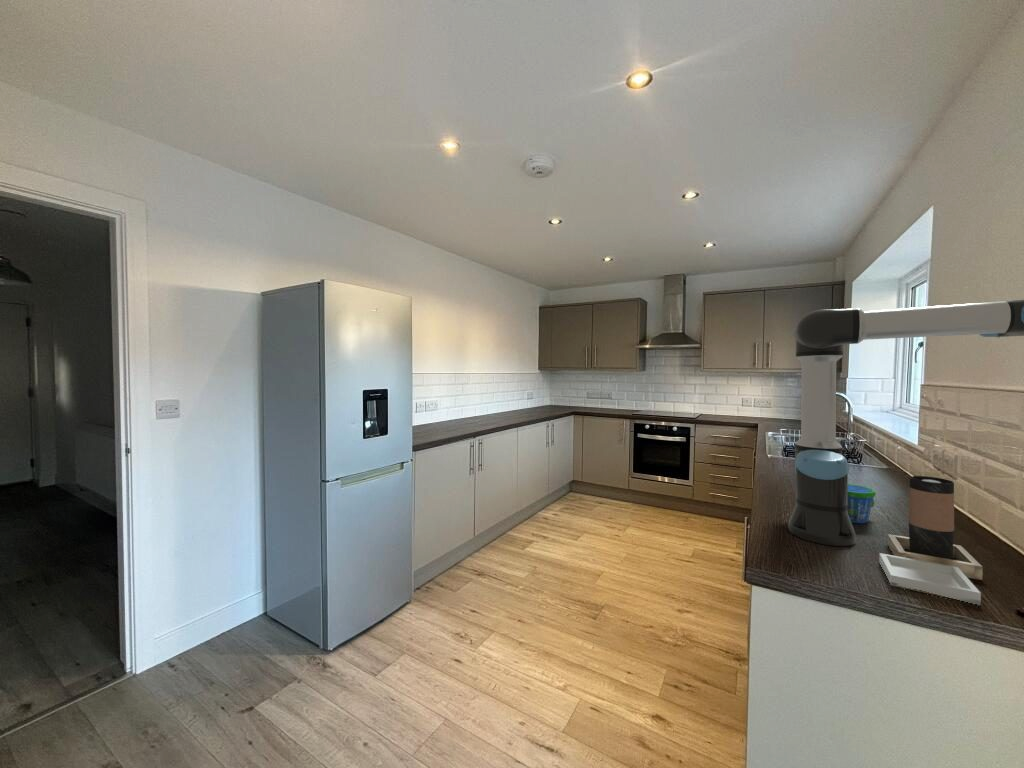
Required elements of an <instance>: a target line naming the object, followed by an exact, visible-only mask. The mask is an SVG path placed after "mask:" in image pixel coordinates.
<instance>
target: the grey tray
mask: <svg viewBox="0 0 1024 768" xmlns="http://www.w3.org/2000/svg"><path fill="white" fill-rule="evenodd" d="M878 555H879V561H878V562H879V563H880V564H879V566H880V565H881V566H880V568H881V567H882V568H881V570H882V569H883V570H884V572H885V574H886V576H887V578H888V580H889V582H890V583H891V584H892V585H896V586H902V587H906V588H911V589H917V590H922V591H926V592H929V593H933V594H937V595H941V596H945V597H949V598H953V599H957V600H960V601H959V602H961V601H964V602H963V603H966V602H968V603H967V604H970V603H972V605H975V604H977V605H976V606H980V605H982V592H981V591H980V590H979V589H978V588H977V587H976V586H975V585H974V583H973V582H972V581H971V580H970V578H968V577H966V576H965V575H964V574H963V573H962V571H961V570H960V569H959V568H958V567H954V566H948V565H943V564H937V563H932V562H926V561H921V560H915V559H910V558H904V557H899V556H894V555H893V554H887V553H881V552H879V553H878ZM883 570H882V571H883ZM884 572H883V573H884ZM885 574H884V575H885ZM886 576H885V577H886ZM887 578H886V579H887ZM888 580H887V581H888ZM889 582H888V583H889Z"/></svg>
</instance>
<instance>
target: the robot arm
mask: <svg viewBox="0 0 1024 768" xmlns="http://www.w3.org/2000/svg"><path fill="white" fill-rule="evenodd" d="M794 331H795V332H794V338H795V339H794V340H795V359H797V361H800V363H801V385H800V387H801V396H800V397H801V398H800V400H801V402H800V403H801V405H800V406H801V408H800V409H801V410H800V411H801V412H800V413H801V414H800V415H801V416H800V417H801V418H800V419H801V420H800V426H801V427H800V429H801V430H800V431H801V432H800V433H801V434H800V438H799V439H798V440H797V441H796V442H795V446H794V448H795V449H794V450H795V451H794V455H795V456H794V457H795V459H794V462H793V463H794V464H793V465H794V471H795V505H794V508H793V510H792V513H791V515H790V517H789V521H788V525H787V526H788V529H789V530H788V531H790V532H791V533H790V532H789V533H790V534H792V535H793V534H794V536H795V535H796V536H795V537H797V536H798V537H797V538H799V537H800V538H799V539H802V540H805V541H808V542H813V543H817V544H821V545H825V546H826V545H827V546H836V547H849V546H853V545H855V544H856V542H857V541H856V540H857V539H856V538H857V535H856V531H855V528H854V526H853V523H852V522H851V520H850V518H849V515H848V509H847V505H848V484H849V481H848V479H849V478H848V477H849V474H848V473H849V469H850V468H849V465H848V460H847V458H846V457H845V456H844V455H843V446H842V444H841V443H839V442H838V441H837V438H836V437H837V435H836V433H837V429H836V428H837V362H838V361H840V359H841V358H843V357H844V354H843V352H844V351H843V350H844V345H858V344H860V343H861V342H863V341H867V340H883V339H885V340H886V339H904V338H907V339H909V338H923V337H925V338H928V337H929V338H931V337H946V336H947V337H948V336H950V337H952V336H968V335H969V336H970V335H971V336H972V335H979V336H980V337H983V338H997V339H998V338H1002V337H1003V338H1004V337H1005V338H1006V337H1024V299H1018V300H1017V299H1016V300H1014V299H1013V300H1008V301H1006V300H1002V301H1001V300H1000V301H991V302H975V303H964V304H962V303H961V304H950V305H947V304H946V305H934V306H924V307H923V306H922V307H909V308H908V307H907V308H896V309H895V308H894V309H881V310H880V309H879V310H869V311H864V310H863V309H861V308H860V307H857V308H856V307H855V308H846V309H845V308H840V309H839V308H835V309H833V308H832V309H831V308H830V309H828V308H827V309H825V308H823V309H816V310H813V311H811V312H809V313H807V314H805V315H804V316H803V317H802V318H801V319H800V320H799V321H798V323H797V325H796V327H795V330H794Z"/></svg>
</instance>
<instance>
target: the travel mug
mask: <svg viewBox="0 0 1024 768" xmlns="http://www.w3.org/2000/svg"><path fill="white" fill-rule="evenodd" d="M908 497H909V499H908V501H909V502H908V503H909V504H908V537H909V542H910V550H909V552H911V553H916V554H922V555H928V556H934V557H939V558H945V559H951V560H954V558H953V544H954V540H955V483H954V481H952V480H949V479H946V478H942V477H933V476H927V475H912V476H911V477H909V496H908Z"/></svg>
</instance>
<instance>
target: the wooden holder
mask: <svg viewBox="0 0 1024 768" xmlns="http://www.w3.org/2000/svg"><path fill="white" fill-rule="evenodd" d="M887 546H889V547H888V548H889V550H890V551H892V552H891V553H892V555H893V556H899V557H904V558H910V559H915V560H921V561H926V562H932V563H937V564H943V565H948V566H954V567H958V568H959V569H960V570H961V571H962V573H963V574H964V575H965V576H966V577H967V578H968V579H974V580H981V581H983V570H984V569H983V565H982V564H980V563H979V562H978V561H977V560H976V559H975V558H974V557H973V556H972V555H971V554H970V553H969V552H968V551H967V550H966V549H965V548H964V547H962V545H960V544H959V545H958V544H954V543H953V560H951V559H945V558H939V557H934V556H928V555H922V554H916V553H911V552H910V542H909V536H904V535H903V536H902V535H896V534H889V533H887ZM905 549H907V550H905Z"/></svg>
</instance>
